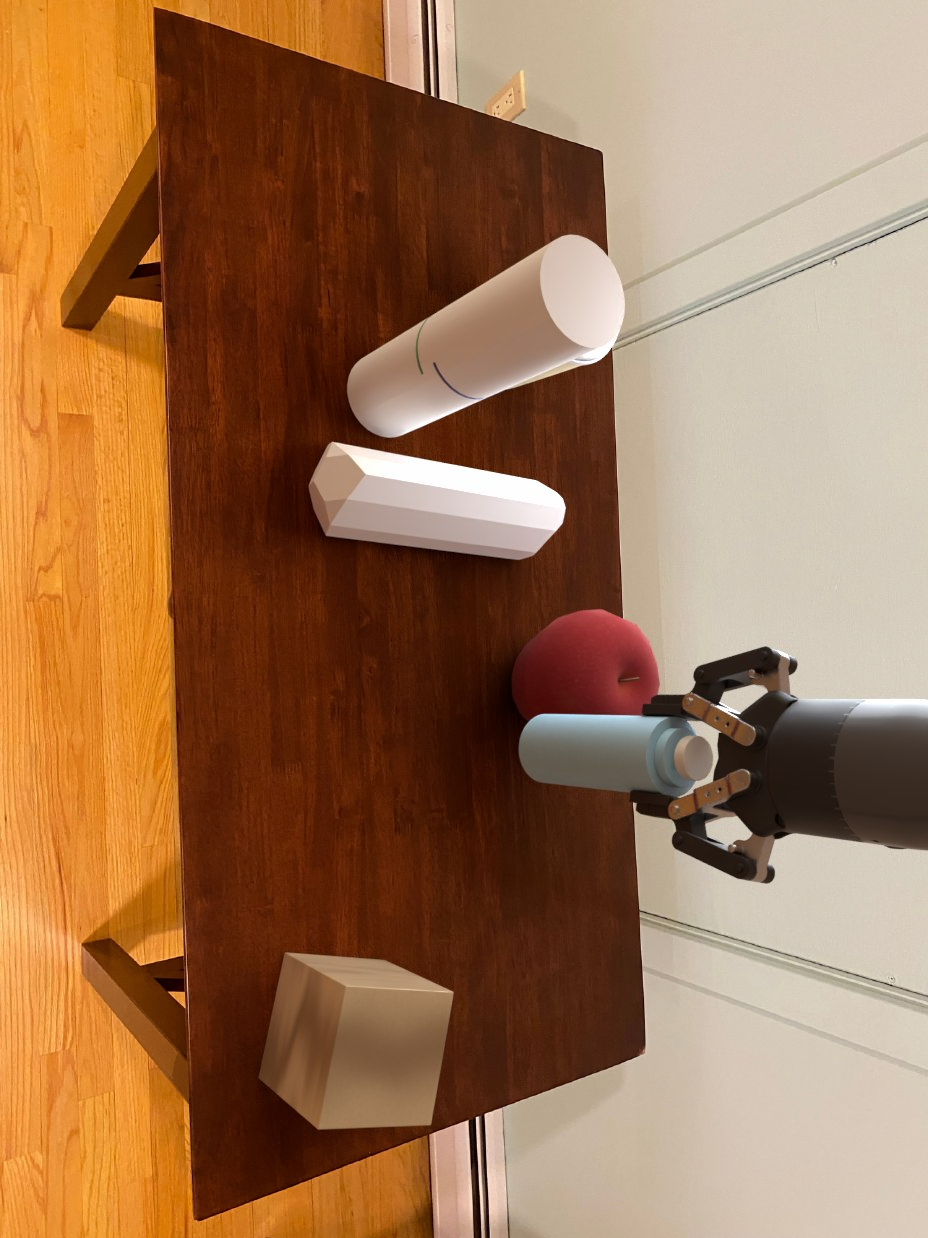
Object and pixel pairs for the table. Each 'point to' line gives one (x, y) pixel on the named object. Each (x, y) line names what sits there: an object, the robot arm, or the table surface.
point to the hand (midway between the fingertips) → (645, 755)
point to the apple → (586, 668)
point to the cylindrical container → (492, 338)
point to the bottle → (615, 752)
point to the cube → (356, 1042)
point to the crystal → (431, 504)
